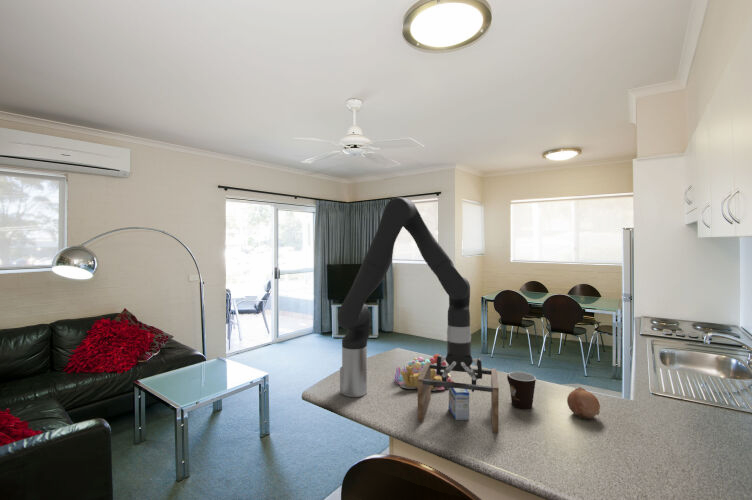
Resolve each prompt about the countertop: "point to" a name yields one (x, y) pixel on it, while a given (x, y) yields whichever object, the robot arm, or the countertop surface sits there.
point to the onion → (583, 403)
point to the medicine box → (459, 403)
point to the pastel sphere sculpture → (418, 373)
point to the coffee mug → (521, 389)
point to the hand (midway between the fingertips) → (459, 389)
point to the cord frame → (426, 383)
